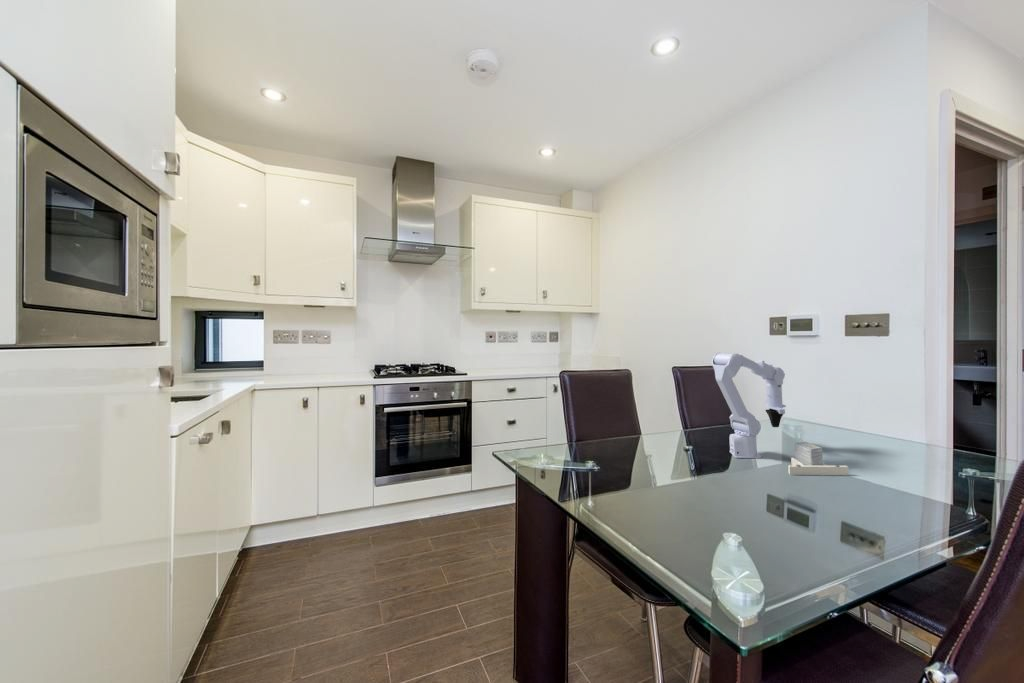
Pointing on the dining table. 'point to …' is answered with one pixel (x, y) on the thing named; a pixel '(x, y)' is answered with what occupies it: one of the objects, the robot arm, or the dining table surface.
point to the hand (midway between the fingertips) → (775, 426)
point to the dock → (815, 469)
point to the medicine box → (808, 454)
